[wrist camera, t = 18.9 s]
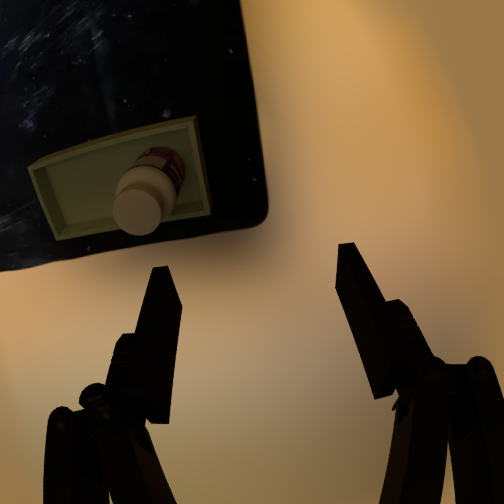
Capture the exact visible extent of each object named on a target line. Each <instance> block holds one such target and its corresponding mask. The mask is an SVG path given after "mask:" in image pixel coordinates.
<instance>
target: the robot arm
mask: <svg viewBox="0 0 504 504" xmlns="http://www.w3.org/2000/svg"><path fill="white" fill-rule="evenodd" d="M335 288H336V291H337V294H338V296H339V299H340V302H341V304H342V307H343V310H344V312H345V315H346V318H347V320H348V323H349V326H350V329H351V331H352V334H353V337H354V340H355V343H356V345H357V348H358V351H359V354H360V357H361V360H362V363H363V365H364V369H365V372H366V375H367V378H368V381H369V384H370V387H371V390H372V393H373V396H374V399H379V398H383V397H387V396H390V395H392V394H393V393H394V391H395V389H396V390H397V392H398V395H399V397H398V399H397V400H396V402H395V404H394V405H393V408H392V410H393V411H394V410H395V408H396V412H395V420H394V428H393V434H392V441H391V447H390V453H389V459H388V465H387V469H386V474H385V479H384V484H383V488H382V493H381V496H380V501H379V504H440V502H441V496H442V490H443V483H444V476H445V466H446V458H447V445H448V443H449V450H450V456H451V463H452V471H453V479H454V490H455V502H456V504H504V398H503V395H502V392H501V388H500V386H499V382H498V379H497V377H496V374H495V371H494V368H493V366H492V364H491V362H490V361H489V360H487V359H486V358H484V357H482V356H475V357H473V358H471V359H470V360H469V361H468V362H467V364H446V363H444V361H443V360H441V359H440V358H438V357H435V356H434V355H433V353H432V352H431V350H430V348H429V346H428V344H427V342H426V340H425V338H424V336H423V334H422V332H421V330H420V328H419V327H418V326H417V323H416V321H415V319H414V318H413V315H412V313H411V312H410V310H409V308H408V306H406V305H405V304H404V303H403V302H402V301H400V300H399V299H396V300H392V301H385V299H384V297H383V295H382V293H381V291H380V289H379V287H378V285H377V283H376V282H375V280H374V278H373V276H372V274H371V272H370V270H369V269H368V267H367V265H366V263H365V261H364V260H363V258H362V256H361V254H360V252H359V251H358V249H357V247H356V245H355V244H354V242H353V243H344V244H339V245H338V261H337V273H336V285H335ZM181 314H182V304H181V301H180V299H179V296H178V293H177V291H176V288H175V285H174V282H173V279H172V276H171V273H170V270H169V268H168V266H162V267H154V268H153V269H152V273H151V276H150V279H149V282H148V286H147V289H146V292H145V296H144V300H143V303H142V307H141V311H140V314H139V318H138V322H137V326H136V329H135V333H126V334H122V336H121V337H120V338H119V340H118V341H117V342H116V345H115V348H114V352H113V356H112V359H111V364H110V367H109V371H108V375H107V379H106V383H105V385H104V384H101V383H94V384H91V385H89V386H87V387H86V388H85V389H84V390H83V391H82V393H81V395H80V397H79V404H80V405H81V406H82V407H83V408H84V409H82V410H79V411H74V412H73V411H72V410H70V409H69V408H68V407H64V406H61V407H57V408H56V409H55V410H53V411H52V413H51V414H50V416H49V419H48V425H47V434H46V444H45V458H44V478H43V504H110V502H109V493H110V496H111V499H112V502H113V504H177V503H176V501H175V499H174V496H173V494H172V492H171V489H170V487H169V485H168V482H167V480H166V477H165V475H164V472H163V470H162V467H161V465H160V462H159V460H158V457H157V455H156V452H155V449H154V446H153V443H152V440H151V437H150V435H149V432H148V430H147V429H146V427H145V422H146V419H147V420H148V421H149V422H150V423H152V424H169V418H170V406H171V397H172V387H173V378H174V368H175V359H176V352H177V344H178V336H179V328H180V321H181Z"/></svg>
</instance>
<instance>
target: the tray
mask: <svg viewBox="0 0 504 504" xmlns="http://www.w3.org/2000/svg"><path fill="white" fill-rule="evenodd" d="M156 146H164V147H168V148H171V149H173V150H174V151H176V152H177V153H178V154H179V155H180V156H181V158H182V159H183V161H184V164H185V169H186V174H185V179H184V182H183V185H182V188H181V190H180V193H179V196H178V199H177V201H176V204H175V207H174V209H173V211H172V213H171V214H170V215H169V216H168V217H167V218H166V219H165V220H164V221H162V222H166V221H172V220H179V219H185V218H192V217H199V216H205V215H211V208H212V197H211V192H210V187H209V182H208V176H207V171H206V165H205V160H204V154H203V149H202V143H201V138H200V132H199V126H198V120H197V116H191V117H186V118H180V119H175V120H170V121H166V122H161V123H156V124H152V125H148V126H143V127H139V128H135V129H131V130H127V131H123V132H120V133H116V134H112V135H109V136H105V137H102V138H98V139H95V140H92V141H88V142H85V143H82V144H79V145H76V146H73V147H70V148H67V149H64V150H61V151H58V152H55V153H53V154H50V155H47V156H45V157H42V158H40V159H38V160H37V161H36V162H34V163H33V164H31V165H30V166H29V167H28V170H29V173H30V176H31V179H32V182H33V185H34V187H35V190H36V193H37V195H38V198H39V201H40V203H41V206H42V208H43V211H44V213H45V215H46V218H47V220H48V222H49V225H50V227H51V229H52V232H53V234H54V236H55V238H56V240H57V241H58V240H63V239H68V238H74V237H79V236H84V235H89V234H95V233H100V232H106V231H111V230H117V229H121V228H120V227H119V226H118V224H117V223H116V221H115V219H114V216H113V204H114V201H115V199H116V198H115V191H116V187H117V184H118V182H119V180H120V178H121V177H122V176H123V174H124V173H125V172H126V171H127V170H128V169H129V167H130V166H131V165H132V164H133V163H134V162H135V161H136V159H137V158H138V157H139V156H140V155H141V154H142V153H143V152H145V151H146V150H148V149H150V148H152V147H156Z"/></svg>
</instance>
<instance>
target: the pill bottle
mask: <svg viewBox="0 0 504 504" xmlns="http://www.w3.org/2000/svg"><path fill="white" fill-rule="evenodd" d="M185 174H186V169H185V164H184V161H183V159H182V158H181V156H180V155H179V154H178V153H177V152H176V151H174V150H173V149H171V148H168V147H164V146H156V147H152V148H150V149H148V150H146V151H145V152H143V153H142V154H141V155H140V156H139V157H138V158H137V159H136V161H135V162H134V163H133V164H132V165H131V166H130V167H129V169H128V170H127V171H126V172H125V173H124V174H123V176H122V177H121V178H120V180H119V182H118V184H117V187H116V191H115V198H116V199H115V201H114V204H113V216H114V219H115V221H116V223H117V224H118V226H119V227H120V228H121V229H123V230H124V231H125V232H127V233H130V234H132V235H146V234H149V233H151V232H152V231H154V230H155V229H156V228H157V227H158V225H159V223H160V222H162V221H164V220H165V219H166V218H167V217H168V216H169V215H170V214H171V213H172V211H173V209H174V207H175V204H176V201H177V199H178V196H179V193H180V190H181V188H182V185H183V182H184V179H185Z"/></svg>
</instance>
